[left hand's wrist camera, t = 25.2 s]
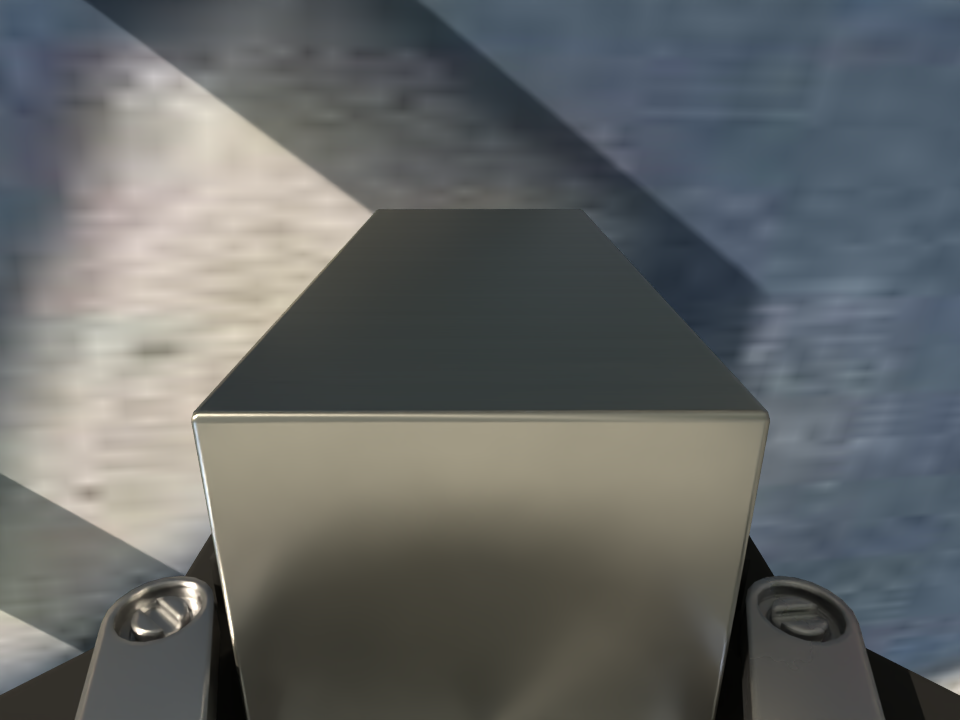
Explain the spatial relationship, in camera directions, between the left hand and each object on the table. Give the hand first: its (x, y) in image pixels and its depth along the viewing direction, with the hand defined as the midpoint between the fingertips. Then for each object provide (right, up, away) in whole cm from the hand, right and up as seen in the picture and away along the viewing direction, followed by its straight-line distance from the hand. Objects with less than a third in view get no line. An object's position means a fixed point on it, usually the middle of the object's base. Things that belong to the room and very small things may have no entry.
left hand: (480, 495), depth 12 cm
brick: (0, +3, +6) cm, 7 cm away
